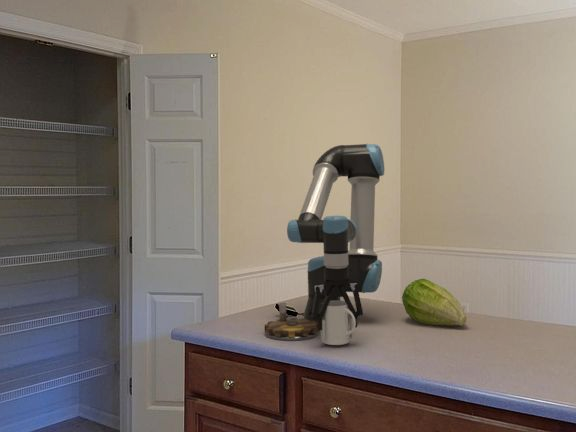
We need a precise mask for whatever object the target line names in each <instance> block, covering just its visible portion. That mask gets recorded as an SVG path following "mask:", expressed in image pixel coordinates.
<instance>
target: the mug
mask: <svg viewBox="0 0 576 432" xmlns="http://www.w3.org/2000/svg"><path fill="white" fill-rule="evenodd" d="M349 315H350V316H352V318H353V321H354V326H353V329H352V330H351V331H350V325H349ZM323 319H324V320H325V341H322V340H321V342H322V343H323V344H326V345H330V346H342V345H346V344H349V342H350V339H351V338H350V334H351V333H352V332H353V331H354V332H355V329H356V328H355V327H356V320H355V317H354V315H353V314H352V312H351V311H350V310H349V308H348V304H346V302H345V300H341V301H330V302H329V305H328V306H327V309H326V312H325V314H324V316H323Z"/></svg>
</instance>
